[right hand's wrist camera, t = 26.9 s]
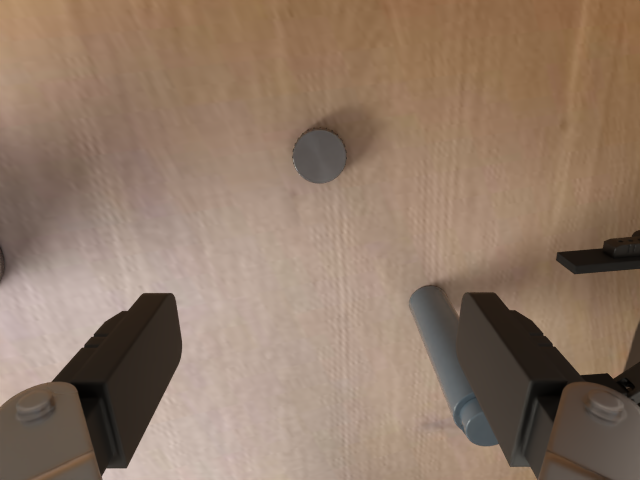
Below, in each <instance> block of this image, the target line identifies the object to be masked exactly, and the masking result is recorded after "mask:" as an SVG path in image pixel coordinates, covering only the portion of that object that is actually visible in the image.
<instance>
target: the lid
mask: <svg viewBox="0 0 640 480" xmlns="http://www.w3.org/2000/svg"><path fill="white" fill-rule="evenodd" d="M294 146H295V148H294V149H293V157H292V158H293V162H294V163H293V164H294V165H295V168H296V170H297V171H298V173H299V174H300V175H301V176H302V177H303V178H304V179H306V180H308V181H310V182H313V183H326V182H329V181H332V180H333V179H335V178H336V177H337V176H338V175H339V174H340V173H341V172H342V171H343V168H344V166H345V162H346V159H347V158H346V153H347V152H346V150H345V145H344V144H343V142H342V139H340V138H339V136H338V134H335V133H334V132H333V130H328V129H327V128H326V129H324V128H321V127H320V128H313V129H311V130H307V132H305V133H302V136H301V137H300V138H298V141H297V143H295V145H294Z"/></svg>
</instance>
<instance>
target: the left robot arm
mask: <svg viewBox="0 0 640 480" xmlns="http://www.w3.org/2000/svg"><path fill="white" fill-rule="evenodd" d="M556 260H557V261H558V262H559V263H560V264H562V265H563V266H564V267H566V268H567V269H568V270H570V271H571V272H572V273H574V274H582V273H594V272H606V271H618V270H630V269H640V230H638V231H636V232H634V233H633V235H632V237H626V238H614V239H609V240H607V241H604V245H603V248H602V249H591V250H579V251H567V252H557V258H556ZM580 376H581V377H582V378H583V379H584V380H585V381H586V382H591V383H596V384H600V385H603V386H606V387H609V388H611V389H614V390H616V391H618V392H620V393H622V394H623V395H625V396H627V397H628V398H630V399H631V400H632V401H634V402H635V403H636V404H637V405H638V406H639V407H640V362H639V363H637V364H636V365H634V366H633V367H631V368H630V369H628V370H626V371H625V372H623V373H622V374H620V375H619V376H617V377H616V378H614V379H613V378H612V377H611V376H610V375H609V374H608V373H605V374H592V375H580ZM625 387H630V388H628V389H626V388H625Z"/></svg>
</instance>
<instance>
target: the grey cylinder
mask: <svg viewBox="0 0 640 480" xmlns="http://www.w3.org/2000/svg"><path fill="white" fill-rule="evenodd" d="M409 307H410V310H411V313H412V315H413V318H414V321H415V323H416V326H417V328H418V331H419V333H420V336H421V338H422V341H423V343H424V346H425V348H426V351H427V353H428V356H429V359H430V361H431V364H432V366H433V369H434V371H435V374H436V376H437V379H438V381H439V384H440V386H441V389H442V391H443V394H444V397H445V399H446V402H447V404H448V407H449V409H450V412H451V414H452V417H453V419H454V422H455V424H456V425H457V426H458V427H459V428H460V429H461V430H462V431H463V432H464V433H465V435H466V436H467V438H468V439H469V440H470V441H471V442H472V443H474V444H476V445H479V446H493V445H497V444H499V443H498V441H497V439H496V437H495V435H494V433H493V431H492V429H491V427H490V425H489V423H488V421H487V419H486V417H485V414H484V412H483V410H482V408H481V406H480V404H479V402H478V400H477V398H476V396H475V394H474V392H473V390H472V388H471V386H470V384H469V382H468V380H467V378H466V376H465V374H464V372H463V370H462V368H461V366H460V364H459V361H458V358H457V353H456V337H457V330H458V324H459V315H458V314H457V312H456V310H455V309H454V307H453V305H452V304H451V302H450V300H449V298H448V297H447V295H446V293H445V292H444V291H443V290H442V289H440V288H438V287H435V286H425V287H422V288H420V289H418V290H416V291H415V292H414V293H413V295H412V296H411V298H410V301H409Z"/></svg>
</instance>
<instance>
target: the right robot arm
mask: <svg viewBox="0 0 640 480" xmlns="http://www.w3.org/2000/svg"><path fill="white" fill-rule="evenodd" d="M3 272H4V259H3V255H2V252H1V249H0V280H1V278H2V276H3ZM181 353H182V338H181V332H180V325H179V318H178V312H177V305H176V300H175V297H174V295H173V294H172V293H143V294H142V295H141V296H140V297H139V298H138V299H137V301H136V302H135V303H134V304H133V305H132V307H131V308H130V309H129V310H128V311H122V312H120V313H119V314H117V315H115V316H114V317H112V318H110V319H109V320H107V321H106V322H104V324H103V325H102V326H101V327H100V328H99V329H98V330H97V331H96V333H95V334H94V337H91V338H90V339H89V340H88V342H87V343H86V344H85V345H84V348H81V349H80V351H79V352H78V353H77V354H76V355H75V356H74V357H73V358H72V359H71V361H70V362H69V363H68V364H67V365H66V366H65V367H64V368H63V370H62V371H61V372H60V373H59V374H58V375H57V376H56V377H55V379H54V380H53V381H52V382H49V383H44V384H40V385H37V386H34V387H31V388H29V389H26V390H24V391H22V392H20V393H18V394H17V395H15V396H13V397H12V398H10V399H9V400H8V401H6V402H5V403H4V404H3V405H2V406H1V407H0V480H102V475H103V473H104V471H105V469H106V468H127V467H128V465H129V463H130V461H131V459H132V457H133V454H134V452H135V450H136V448H137V446H138V444H139V442H140V440H141V438H142V436H143V434H144V432H145V430H146V428H147V426H148V424H149V422H150V420H151V418H152V416H153V414H154V412H155V410H156V408H157V406H158V404H159V402H160V400H161V398H162V396H163V394H164V392H165V390H166V388H167V386H168V384H169V382H170V380H171V378H172V376H173V374H174V372H175V370H176V368H177V366H178V364H179V362H180V358H181ZM456 353H457V358H458V361H459V364H460V366H461V368H462V370H463V372H464V374H465V376H466V378H467V380H468V382H469V384H470V386H471V388H472V390H473V392H474V394H475V396H476V398H477V400H478V402H479V404H480V406H481V408H482V410H483V412H484V414H485V417H486V419H487V421H488V423H489V425H490V427H491V429H492V431H493V433H494V435H495V437H496V439H497V441H498V443H499V445H500V447H501V449H502V451H503V453H504V455H505V457H506V459H507V461H508V463H509V465H510V467H531V469H532V470H533V472H534V474H535V476H536V478H537V480H640V407H639V406H638V405H637V404H636V403H635V402H634V401H632V400H631V399H630V398H628V397H627V396H625V395H623V394H622V393H620V392H618V391H616V390H614V389H611V388H609V387H606V386H603V385H600V384H596V383H591V382H586V381H585V380H584V379H583V378H582V377H581V376H580V374H579V373H578V372H577V371H576V370H575V369H574V368H573V367H572V365H571V364H570V363H569V362H568V361H567V360H566V359H565V357H564V356H563V355H562V354H561V353H560V352H559V351H558V350H557V348H556V347H553V344H552V343H551V342H550V341H549V339H548V338H547V337H546V336H543V333H542V331H541V330H540V329H539V328H538V327H537V326H536V325H535V324H534V322H533V321H531V320H530V319H528V318H527V317H525V316H523V315H522V314H520V313H519V312H517V311H515V310H509V309H508V308H507V307H506V305H505V304H504V303H503V302H502V301H501V299H500V298H499V297H498V296H497V295H496V294H495V293H493V292H467V293H465V294H464V296H463V298H462V303H461V310H460V317H459V324H458V330H457V337H456Z"/></svg>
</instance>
